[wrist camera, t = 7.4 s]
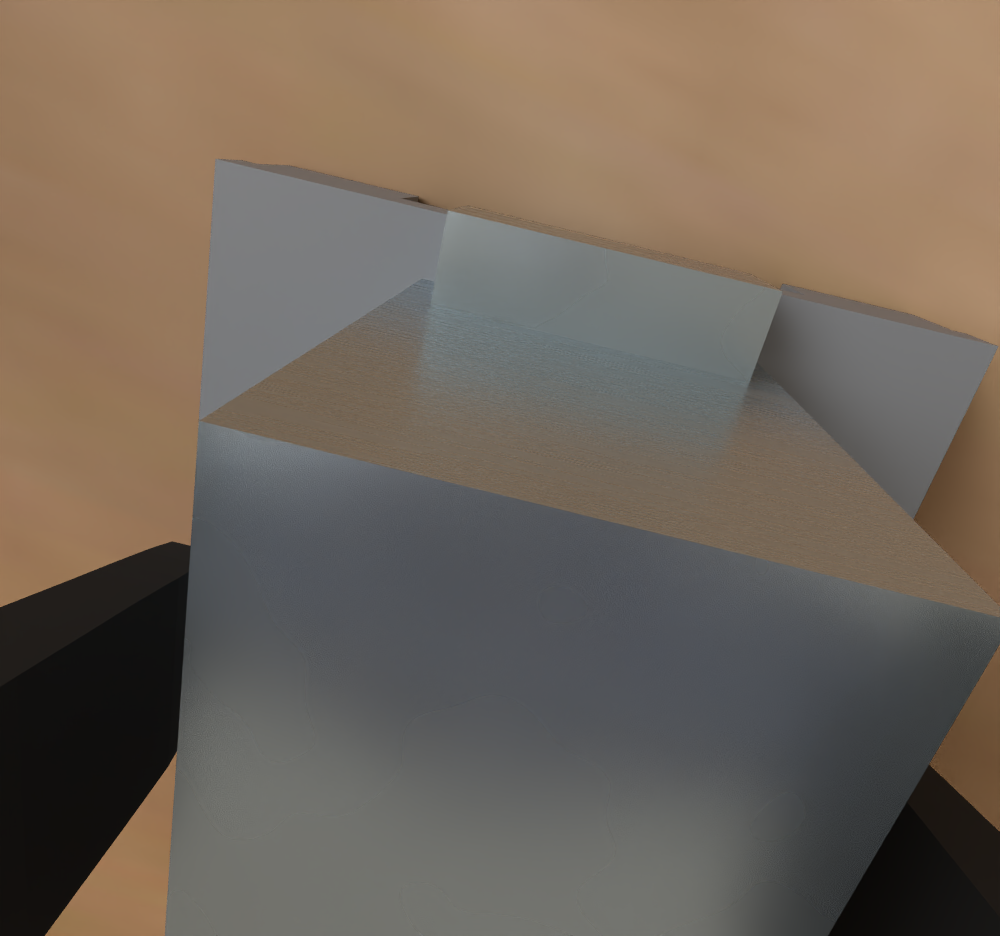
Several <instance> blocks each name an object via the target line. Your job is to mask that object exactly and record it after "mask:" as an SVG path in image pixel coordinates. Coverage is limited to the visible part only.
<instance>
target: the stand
mask: <svg viewBox="0 0 1000 936" xmlns="http://www.w3.org/2000/svg"><path fill="white" fill-rule="evenodd" d="M418 197H419V196H414V195H410V194H406V193H402V192H398V191H394V190H389V189H385V188H381V187H377V186H373V185H368V184H364V183H360V182H356V181H352V180H348V179H343V178H339V177H335V176H331V175H327V174H323V173H318V172H314V171H310V170H306V169H302V168H297V167H293V166H288V165H268V164H255V163H251V162H247V161H243V160H226V159H216V161H215V176H214V192H213V208H212V224H211V239H210V255H209V271H208V286H207V302H206V318H205V334H204V349H203V365H202V381H201V396H200V412H199V421H200V420H201V419H203V418H204V417H206V416H208V415H209V414H211V413H212V412H214V411H215V410H217V409H218V408H220V407H222V406H223V405H225V404H226V403H228V402H229V401H231V400H233V399H234V398H236V397H237V396H239V395H240V394H242V393H244V392H245V391H247V390H248V389H250V388H251V387H253V386H255V385H256V384H258V383H259V382H261V381H262V380H264V379H265V378H267V377H269V376H270V375H272V374H273V373H275V372H276V371H278V370H280V369H281V368H283V367H284V366H286V365H287V364H289V363H291V362H292V361H294V360H295V359H297V358H298V357H300V356H301V355H303V354H305V353H306V352H308V351H309V350H311V349H312V348H314V347H316V346H317V345H319V344H320V343H322V342H323V341H325V340H327V339H328V338H330V337H331V336H333V335H334V334H336V333H338V332H339V331H341V330H342V329H344V328H345V327H347V326H348V325H350V324H352V323H353V322H355V321H356V320H358V319H359V318H361V317H363V316H364V315H366V314H367V313H369V312H370V311H372V310H374V309H375V308H377V307H378V306H380V305H381V304H383V303H385V302H386V301H388V300H389V299H391V298H392V297H394V296H395V295H397V294H399V293H400V292H402V291H403V290H405V289H406V288H408V287H410V286H411V285H413V284H414V283H416V282H417V281H419V280H421V279H426V280H430V281H434V282H435V277H436V272H437V266H438V261H439V255H440V250H441V245H442V239H443V234H444V228H445V223H446V217H447V212H448V210H447V209H443V208H439V207H435V206H431V205H426V204H422V203H418ZM779 290H781V291H783V293H782V295H781V298H780V301H779V303H778V306H777V309H776V312H775V314H774V317H773V320H772V322H771V325H770V328H769V331H768V333H767V336H766V339H765V342H764V344H763V347H762V350H761V352H760V355H759V358H758V361H757V363H758V364H759V365H760V366H761V367H762V368H763V369H764V370H765V371H766V372H767V373H768V374H769V375H770V376H771V377H772V378H773V379H774V380H775V381H776V382H777V383H778V384H779V385H780V386H781V387H782V388H783V389H784V390H785V391H786V392H787V393H788V394H789V395H790V396H791V397H792V398H793V399H794V400H795V401H796V402H797V403H798V404H799V405H800V406H801V407H802V408H803V409H804V410H805V411H806V412H807V413H808V414H809V415H810V416H811V417H812V418H813V419H814V420H815V421H816V422H817V423H818V424H819V425H820V426H821V427H822V428H823V429H824V430H825V431H826V432H827V433H828V434H829V435H830V436H831V437H832V438H833V439H834V440H835V441H836V442H837V443H838V444H839V445H840V446H841V447H842V448H843V449H844V450H845V451H846V452H847V453H848V454H849V455H850V456H851V457H852V458H853V459H854V460H855V461H856V462H857V463H858V464H859V465H860V466H861V467H862V468H863V469H864V470H865V471H866V472H867V474H868V475H869V476H870V477H871V478H872V479H873V480H874V481H875V482H876V483H877V484H878V485H879V486H880V487H881V488H882V489H883V490H884V491H885V492H886V493H887V494H888V495H889V496H890V497H891V498H892V499H893V500H894V501H895V502H896V503H897V504H898V505H899V506H900V507H901V508H902V509H903V510H904V511H905V512H906V513H907V514H908V515H909V516H910V517H911V518H912V519H914V517H915V515H916V513H917V511H918V509H919V507H920V505H921V503H922V501H923V499H924V497H925V495H926V493H927V491H928V488H929V486H930V484H931V482H932V480H933V478H934V476H935V474H936V472H937V470H938V468H939V466H940V464H941V462H942V460H943V458H944V456H945V454H946V452H947V450H948V448H949V446H950V444H951V442H952V440H953V438H954V436H955V434H956V431H957V429H958V427H959V425H960V423H961V421H962V419H963V417H964V415H965V413H966V411H967V409H968V407H969V405H970V403H971V401H972V399H973V397H974V395H975V393H976V391H977V389H978V387H979V385H980V383H981V381H982V379H983V377H984V375H985V372H986V370H987V368H988V366H989V364H990V362H991V360H992V358H993V356H994V354H995V352H996V350H997V348H998V346H996V345H993V344H991V343H988V342H986V341H983V340H981V339H978V338H976V337H973V336H971V335H968V334H965V333H961V332H957V331H952V330H950V329H947V328H945V327H942V326H940V325H937V324H935V323H932V322H930V321H927V320H925V319H922V318H920V317H917V316H915V315H911V314H907V313H903V312H899V311H895V310H891V309H886V308H882V307H878V306H874V305H870V304H865V303H861V302H857V301H853V300H849V299H845V298H840V297H836V296H832V295H828V294H824V293H820V292H815V291H811V290H807V289H803V288H799V287H794V286H790V285H786V284H782V287H781V289H779ZM198 429H199V428H198Z"/></svg>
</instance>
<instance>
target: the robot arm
mask: <svg viewBox="0 0 1000 936" xmlns="http://www.w3.org/2000/svg"><path fill="white" fill-rule="evenodd" d="M190 550H191V546H189V545H184V544H180V543H176V542H169V543H166V544H163V545H160V546H157V547H154V548H151V549H148V550H145V551H143V552H140V553H137V554H135V555H132V556H129V557H127V558H124V559H122V560H119V561H117V562H114V563H112V564H109V565H107V566H104V567H102V568H99V569H97V570H94V571H92V572H89V573H87V574H84V575H82V576H79V577H77V578H74V579H72V580H69V581H66V582H64V583H61V584H59V585H56V586H54V587H51V588H49V589H46V590H43V591H41V592H38V593H36V594H33V595H31V596H28V597H26V598H23V599H20V600H18V601H15V602H13V603H10V604H8V605H5V606H3V607H0V936H45V935H46V933H47V932H48V930H49V929H50V928H51V926H52V925H53V924H54V922H55V921H56V920H57V918H58V917H59V915H60V914H61V913H62V911H63V910H64V909H65V907H66V906H67V905H68V903H69V902H70V900H71V899H72V898H73V896H74V895H75V894H76V892H77V891H78V890H79V888H80V887H81V885H82V884H83V883H84V881H85V880H86V879H87V877H88V876H89V875H90V873H91V872H92V871H93V869H94V868H95V866H96V865H97V864H98V862H99V861H100V860H101V858H102V857H103V856H104V854H105V853H106V851H107V850H108V849H109V847H110V846H111V845H112V843H113V842H114V841H115V839H116V838H117V837H118V835H119V834H120V832H121V831H122V830H123V828H124V827H125V826H126V824H127V823H128V821H129V820H130V819H131V817H132V816H133V815H134V813H135V812H136V810H137V809H138V808H139V806H140V805H141V803H142V802H143V801H144V799H145V798H146V797H147V795H148V794H149V792H150V791H151V790H152V788H153V787H154V785H155V784H156V783H157V781H158V780H159V778H160V777H161V776H162V774H163V773H164V771H165V770H166V769H167V767H168V766H169V764H170V762H171V760H172V759H173V757H174V755H175V753H176V752H177V745H178V730H179V715H180V700H181V685H182V670H183V655H184V640H185V625H186V610H187V595H188V580H189V565H190ZM828 936H1000V832H999V831H998V830H997V829H996V828H995V827H994V826H993V825H992V824H991V823H990V822H989V821H988V820H987V819H985V818H984V817H983V816H982V815H981V814H980V813H979V812H978V811H977V810H976V809H975V808H974V807H973V806H972V805H971V804H970V803H969V802H968V801H967V800H966V799H964V798H963V797H962V796H961V795H960V794H959V793H958V792H957V791H956V790H955V789H954V788H953V787H952V786H951V785H950V784H949V783H948V782H947V781H946V780H945V779H944V778H942V777H941V776H940V775H939V774H938V773H937V772H936V771H935V770H934V769H933V768H932V767H931V766H930V765H928V767H927V768H926V770H925V772H924V773H923V775H922V777H921V779H920V780H919V782H918V784H917V785H916V787H915V789H914V790H913V792H912V794H911V796H910V797H909V799H908V801H907V802H906V804H905V806H904V807H903V809H902V811H901V812H900V814H899V816H898V818H897V819H896V821H895V823H894V824H893V826H892V828H891V829H890V831H889V833H888V835H887V836H886V838H885V840H884V841H883V843H882V845H881V846H880V848H879V850H878V851H877V853H876V855H875V857H874V858H873V860H872V862H871V863H870V865H869V867H868V868H867V870H866V872H865V874H864V875H863V877H862V879H861V880H860V882H859V884H858V885H857V887H856V889H855V891H854V892H853V894H852V896H851V897H850V899H849V901H848V902H847V904H846V906H845V907H844V909H843V911H842V913H841V914H840V916H839V918H838V919H837V921H836V923H835V924H834V926H833V928H832V930H831V931H830V933H829V935H828Z"/></svg>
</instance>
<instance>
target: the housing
mask: <svg viewBox="0 0 1000 936" xmlns="http://www.w3.org/2000/svg"><path fill="white" fill-rule="evenodd" d="M782 293H783V291H781V290H779V289H777V288H776V287H774V286H772V285H770V284H768V283H766V282H764V281H763V280H761V279H759V278H757V277H755V276H753V275H752V274H748V273H744V272H740V271H736V270H731V269H727V268H723V267H719V266H715V265H711V264H707V263H703V262H698V261H694V260H690V259H686V258H682V257H678V256H674V255H670V254H665V253H661V252H657V251H653V250H649V249H645V248H641V247H637V246H632V245H628V244H624V243H620V242H616V241H612V240H608V239H604V238H599V237H595V236H591V235H587V234H583V233H579V232H575V231H570V230H566V229H562V228H558V227H554V226H550V225H546V224H542V223H537V222H533V221H529V220H525V219H521V218H517V217H513V216H509V215H504V214H500V213H496V212H492V211H488V210H484V209H480V208H476V207H471V206H464V207H459V208H455V209H451V210H448V212H447V217H446V223H445V228H444V234H443V239H442V245H441V250H440V255H439V261H438V266H437V272H436V277H435V282H434V281H430V280H426V279H421V280H419V281H417V282H416V283H414V284H413V285H411V286H410V287H408V288H406V289H405V290H403V291H402V292H400V293H399V294H397V295H395V296H394V297H392V298H391V299H389V300H388V301H386V302H385V303H383V304H381V305H380V306H378V307H377V308H375V309H374V310H372V311H370V312H369V313H367V314H366V315H364V316H363V317H361V318H359V319H358V320H356V321H355V322H353V323H352V324H350V325H348V326H347V327H345V328H344V329H342V330H341V331H339V332H338V333H336V334H334V335H333V336H331V337H330V338H328V339H327V340H325V341H323V342H322V343H320V344H319V345H317V346H316V347H314V348H312V349H311V350H309V351H308V352H306V353H305V354H303V355H301V356H300V357H298V358H297V359H295V360H294V361H292V362H291V363H289V364H287V365H286V366H284V367H283V368H281V369H280V370H278V371H276V372H275V373H273V374H272V375H270V376H269V377H267V378H265V379H264V380H262V381H261V382H259V383H258V384H256V385H255V386H253V387H251V388H250V389H248V390H247V391H245V392H244V393H242V394H240V395H239V396H237V397H236V398H234V399H233V400H231V401H229V402H228V403H226V404H225V405H223V406H222V407H220V408H218V409H217V410H215V411H214V412H212V413H211V414H209V415H208V416H206V417H204V418H203V419H201V420H200V421H199V429H198V444H197V459H196V474H195V489H194V504H193V520H192V535H191V550H190V565H189V580H188V595H187V610H186V625H185V640H184V655H183V670H182V685H181V700H180V715H179V730H178V745H177V761H176V776H175V791H174V806H173V821H172V836H171V851H170V866H169V881H168V896H167V911H166V926H165V936H828V935H829V933H830V931H831V930H832V928H833V926H834V924H835V923H836V921H837V919H838V918H839V916H840V914H841V913H842V911H843V909H844V907H845V906H846V904H847V902H848V901H849V899H850V897H851V896H852V894H853V892H854V891H855V889H856V887H857V885H858V884H859V882H860V880H861V879H862V877H863V875H864V874H865V872H866V870H867V868H868V867H869V865H870V863H871V862H872V860H873V858H874V857H875V855H876V853H877V851H878V850H879V848H880V846H881V845H882V843H883V841H884V840H885V838H886V836H887V835H888V833H889V831H890V829H891V828H892V826H893V824H894V823H895V821H896V819H897V818H898V816H899V814H900V812H901V811H902V809H903V807H904V806H905V804H906V802H907V801H908V799H909V797H910V796H911V794H912V792H913V790H914V789H915V787H916V785H917V784H918V782H919V780H920V779H921V777H922V775H923V773H924V772H925V770H926V768H927V767H928V765H929V763H930V762H931V760H932V758H933V757H934V755H935V753H936V751H937V750H938V748H939V746H940V745H941V743H942V741H943V740H944V738H945V736H946V734H947V733H948V731H949V729H950V728H951V726H952V724H953V723H954V721H955V719H956V717H957V716H958V714H959V712H960V711H961V709H962V707H963V706H964V704H965V702H966V701H967V699H968V697H969V695H970V694H971V692H972V690H973V689H974V687H975V685H976V684H977V682H978V680H979V678H980V677H981V675H982V673H983V672H984V670H985V668H986V667H987V665H988V663H989V662H990V660H991V658H992V656H993V655H994V653H995V651H996V650H997V648H998V646H999V645H1000V606H999V605H998V604H997V603H996V602H995V601H994V600H993V599H992V598H991V597H990V596H989V595H988V594H987V593H986V592H985V591H984V590H983V589H982V588H981V587H980V586H979V585H978V584H977V583H976V582H975V581H974V580H973V579H972V578H971V577H970V576H969V575H968V574H967V573H966V572H965V571H964V570H963V569H962V568H961V567H960V566H959V565H958V564H957V563H956V562H955V561H954V560H953V559H952V558H951V557H950V556H949V555H948V554H947V553H946V552H945V551H944V550H943V549H942V548H941V547H940V546H939V545H938V544H937V543H936V542H935V541H934V540H933V539H932V538H931V537H930V536H929V535H928V534H927V533H926V532H925V531H924V530H923V529H922V528H921V527H920V526H919V525H918V524H917V523H916V522H915V521H914V520H913V519H912V518H911V517H910V516H909V515H908V514H907V513H906V512H905V511H904V510H903V509H902V508H901V507H900V506H899V505H898V504H897V503H896V502H895V501H894V500H893V499H892V498H891V497H890V496H889V495H888V494H887V493H886V492H885V491H884V490H883V489H882V488H881V487H880V486H879V485H878V484H877V483H876V482H875V481H874V480H873V479H872V478H871V477H870V476H869V475H868V474H867V472H866V471H865V470H864V469H863V468H862V467H861V466H860V465H859V464H858V463H857V462H856V461H855V460H854V459H853V458H852V457H851V456H850V455H849V454H848V453H847V452H846V451H845V450H844V449H843V448H842V447H841V446H840V445H839V444H838V443H837V442H836V441H835V440H834V439H833V438H832V437H831V436H830V435H829V434H828V433H827V432H826V431H825V430H824V429H823V428H822V427H821V426H820V425H819V424H818V423H817V422H816V421H815V420H814V419H813V418H812V417H811V416H810V415H809V414H808V413H807V412H806V411H805V410H804V409H803V408H802V407H801V406H800V405H799V404H798V403H797V402H796V401H795V400H794V399H793V398H792V397H791V396H790V395H789V394H788V393H787V392H786V391H785V390H784V389H783V388H782V387H781V386H780V385H779V384H778V383H777V382H776V381H775V380H774V379H773V378H772V377H771V376H770V375H769V374H768V373H767V372H766V371H765V370H764V369H763V368H762V367H761V366H760V365H759V364H758V363H757V361H758V358H759V355H760V352H761V350H762V347H763V344H764V342H765V339H766V336H767V333H768V331H769V328H770V325H771V322H772V320H773V317H774V314H775V312H776V309H777V306H778V303H779V301H780V298H781V295H782Z"/></svg>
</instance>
